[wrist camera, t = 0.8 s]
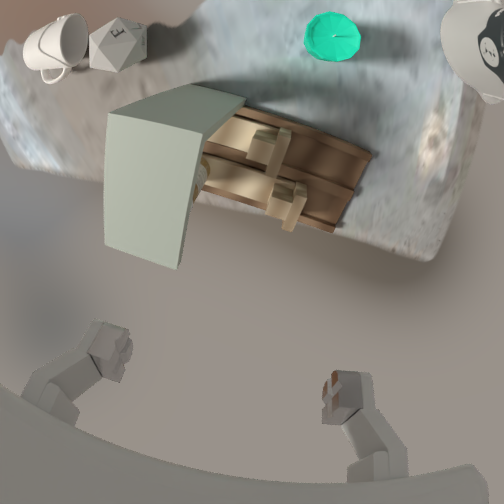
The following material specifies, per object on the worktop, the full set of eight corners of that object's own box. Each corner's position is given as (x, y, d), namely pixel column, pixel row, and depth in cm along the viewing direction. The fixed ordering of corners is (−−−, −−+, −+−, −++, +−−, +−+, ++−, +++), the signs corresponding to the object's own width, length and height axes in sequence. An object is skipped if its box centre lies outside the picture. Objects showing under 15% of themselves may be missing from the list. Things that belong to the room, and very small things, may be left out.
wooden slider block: (291, 128, 39) (290, 138, 35) (278, 164, 43) (275, 179, 39) (195, 100, 38) (181, 107, 34) (187, 136, 42) (173, 148, 38)
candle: (300, 24, 31) (301, 10, 21) (343, 22, 29) (360, 9, 20) (306, 62, 34) (310, 62, 25) (349, 60, 33) (367, 61, 23)
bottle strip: (306, 181, 44) (307, 198, 40) (292, 213, 48) (291, 232, 43) (185, 143, 43) (171, 155, 38) (178, 176, 47) (165, 192, 42)
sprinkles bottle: (182, 173, 46) (150, 216, 35) (189, 148, 43) (157, 186, 33) (208, 182, 47) (184, 229, 36) (217, 158, 44) (193, 199, 33)
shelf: (246, 97, 39) (202, 134, 22) (221, 185, 48) (176, 270, 31) (189, 83, 38) (108, 112, 21) (171, 170, 48) (104, 244, 31)
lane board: (369, 151, 41) (372, 155, 39) (331, 227, 50) (332, 233, 49) (187, 91, 39) (183, 92, 37) (170, 175, 48) (166, 179, 47)
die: (169, 44, 34) (137, 44, 26) (129, 80, 38) (93, 90, 30) (141, 10, 31) (105, 4, 23) (103, 46, 34) (64, 51, 27)
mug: (53, 25, 31) (23, 28, 25) (90, 13, 30) (60, 13, 24) (53, 82, 38) (23, 91, 32) (89, 75, 38) (59, 83, 31)
